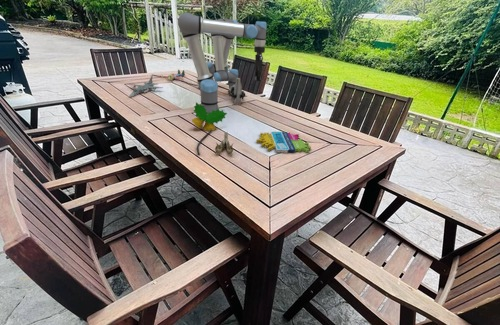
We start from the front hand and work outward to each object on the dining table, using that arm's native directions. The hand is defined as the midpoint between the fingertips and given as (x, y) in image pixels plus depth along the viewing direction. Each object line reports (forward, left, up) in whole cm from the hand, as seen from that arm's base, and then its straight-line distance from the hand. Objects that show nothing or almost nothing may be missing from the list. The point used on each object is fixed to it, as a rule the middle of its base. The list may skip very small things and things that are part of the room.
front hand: (257, 80), depth 196 cm
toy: (+108, +58, -22) cm, 124 cm away
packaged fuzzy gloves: (-64, +3, -22) cm, 68 cm away
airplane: (+54, +86, -22) cm, 104 cm away
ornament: (-37, +41, -22) cm, 60 cm away
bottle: (+13, +11, -22) cm, 28 cm away
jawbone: (-70, +38, -22) cm, 83 cm away
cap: (0, 0, +2) cm, 2 cm away
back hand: (+8, +12, -16) cm, 21 cm away
